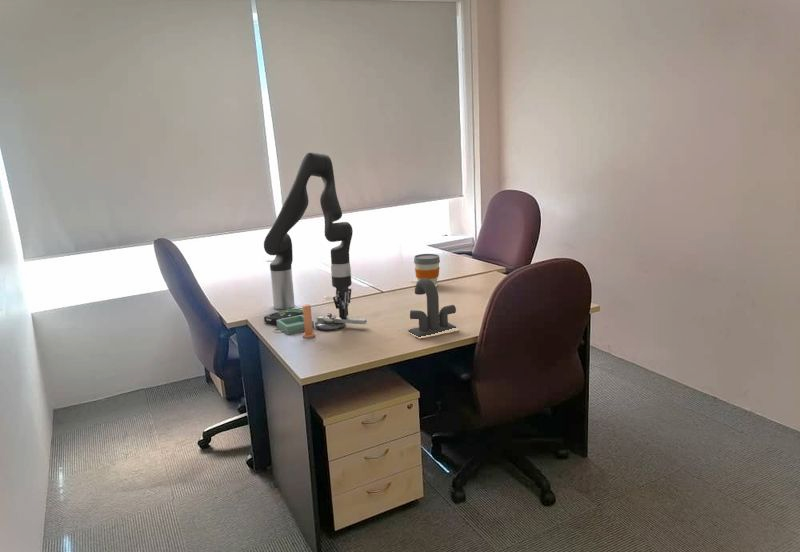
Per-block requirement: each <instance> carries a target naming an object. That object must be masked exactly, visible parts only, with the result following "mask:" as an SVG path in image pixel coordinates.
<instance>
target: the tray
mask: <svg viewBox="0 0 800 552" xmlns="http://www.w3.org/2000/svg"><path fill="white" fill-rule="evenodd" d="M276 321H277V325H276V327H277V328H278V329H279V330H280V331H282V332H283V333H285V334H286V335H292V334H295V333H300V332H305V330H304V317H303V315H298V316H293V317H288V318H284V319H279V320H276ZM312 329H313V330H314V329H315V322H314V320H312Z"/></svg>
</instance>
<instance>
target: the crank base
mask: <svg viewBox="0 0 800 552" xmlns="http://www.w3.org/2000/svg"><path fill="white" fill-rule="evenodd" d="M346 324H347V323H332V324H326V323H324V322H318V321H317V320H316V321H315V322H314V329H316V330H318V331H321V332H332V331H333V332H334V331H339V330H341V329H344V328H345V327H346Z"/></svg>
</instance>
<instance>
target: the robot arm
mask: <svg viewBox="0 0 800 552" xmlns="http://www.w3.org/2000/svg"><path fill="white" fill-rule="evenodd" d="M312 176H313V177H317V178H318V177H319V178H321V180H322V182H323V189H322V192H321V194H320V199H319V201H320V206H321V211H322V214H323V217H324V218H323V219H324V237H325V239H326V240H327V241H328V242H330V243H335V242H340V243H339V245H337V246H335V247H332V248H331V249H330V262H331V263H330V264H331V267H330V272H331V286H332V287H333V288H335V296H332V299H333V302H334V306H335V309H337V310H338V313H339V315H338V317H340V318H345V303H346V310H347V316H349V304H351V298H352V297H351V296H352V288H349V287H351V286H352V269H351V263H350V261H351V260H350V248H351V242H352V238H353V227H352V225H351V223H350V222H348V221H342V222H341V221H340V222H336V221H339V220H340V219H342V217H343V211H342V208H341V204H340V202H339V198H338V195H337V189H336V181H335V174H334V168H333V162H332V159H331V157H330V156H329V155H327V154H324V153H320V152H316V151H315V152H314V151H308V152H306V153H305V154H304V155H303V157H302V159H301V162H300V164H299V167H298V170H297V173H296V176H295V179H294V180H293V184H292V185H291V187H290V190H289V191H288V194H287V196H286V199H285V200H284V202H283V204H282V207H281V209H280V211H279V213H278V215H277V218H276V219H275V221H274V223H273V225H272V226H271V229H270V230H269V231H268V233H267V234H266V237H265V238H264V241H263V250H264V251H265V253H266V254H267V255H269V256H275V258H274V259H273V260H272V261H271V262H270V263H269V268H270V269H269V270H270V272H269V273H270V279H271V289H272V290H271V291H272V300H273V301H272V302H273V303H272V304H273V309H276V310H284V309H288V308H291V309H293V307H295V306H296V305H295V293H294V292H295V291H294V281H293V272H292V271H293V270H292V269H293V267H292V264H293V259H294V258H293V255H294V254H293V243H292V242H293V241H292V239H291V235H289V234H288V232H290V231H291V229H292V228H294V227H295V225H297V223H298V222H299V221H300V220H301V219H302V218H303V216H304V214H305V212H306V210H307V208H308V206H309V194H308V189H307V185H308V182H309V179H310V178H311V177H312Z"/></svg>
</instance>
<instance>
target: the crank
mask: <svg viewBox="0 0 800 552" xmlns="http://www.w3.org/2000/svg"><path fill="white" fill-rule="evenodd" d="M316 321H318V322H324V323H326V324H332V323H345V324H350V325H351V324H352V325H353V324H354V325H366V324H367V318H360V317H359V318H357V317H348V315H347V310H346V303H345V318H340V317H339V316H337V315H334V314H332V313H327V315H319V316H317V317H316Z"/></svg>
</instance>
